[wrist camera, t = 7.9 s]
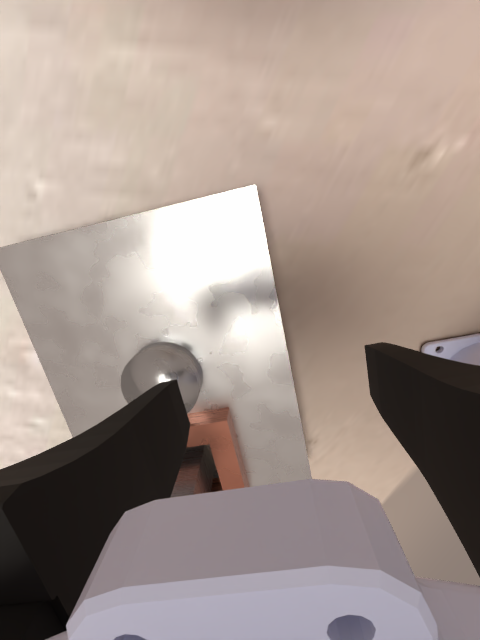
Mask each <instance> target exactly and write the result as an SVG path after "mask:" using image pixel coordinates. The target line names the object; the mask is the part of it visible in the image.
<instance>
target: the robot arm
mask: <svg viewBox="0 0 480 640" xmlns="http://www.w3.org/2000/svg"><path fill="white" fill-rule="evenodd" d="M438 346H440V349H439V350H438V351H435V350H436V348H437V347H438ZM365 353H366V361H367V370H368V379H369V387H370V395H371V397H372V399H373V401H374V403H375V405H376V407H377V409H378V411H379V413H380V414H381V416H382V418H383V419H384V421H385V422H386V424H387V425H388V426H389V428H390V429H391V431H392V432H393V434H394V435H395V436H396V438H397V439H398V440H399V442H400V443H401V445H402V446H403V447H404V449H405V450H406V452H407V453H408V454H409V456H410V457H411V458H412V460H413V461H414V463H415V464H416V465H417V467H418V468H419V470H420V471H421V473H422V474H423V476H424V477H425V479H426V480H427V482H428V484H429V485H430V487H431V489H432V491H433V492H434V494H435V496H436V497H437V499H438V501H439V503H440V504H441V506H442V508H443V510H444V512H445V513H446V515H447V517H448V519H449V521H450V522H451V524H452V526H453V528H454V530H455V531H456V533H457V535H458V537H459V539H460V540H461V543H462V544H463V546H464V548H465V550H466V552H467V554H468V556H469V558H470V559H471V561H472V563H473V565H474V567H475V569H476V571H477V573H478V575H479V577H480V333H479V334H473V335H468V336H462V337H456V338H451V339H445V340H439V341H434V342H428V343H426V344H424V345H423V347H422V349H421V352H418V351H415V350H411V349H408V348H404V347H401V346H397V345H393V344H389V343H383V342H381V343H376V344H370V345H365ZM189 430H190V422H189V418H188V415H187V412H186V408H185V405H184V402H183V399H182V395H181V392H180V389H179V385H178V382H177V379H176V380H171V381H165V382H161V383H159V384H157V385H155V386H154V387H152V388H150V389H149V390H147V391H146V392H144V393H143V394H142V395H140V396H139V397H137V398H136V399H134V400H133V401H132V402H130V403H129V404H127V405H126V406H124V407H123V408H121V409H120V410H118V411H117V412H115V413H114V414H112V415H111V416H109V417H108V418H106V419H105V420H103V421H102V422H100V423H98V424H97V425H95V426H93V427H92V428H90V429H88V430H86V431H84V432H83V433H81V434H79V435H77V436H75V437H74V438H72V439H70V440H68V441H66V442H63V443H61V444H59V445H57V446H55V447H53V448H51V449H49V450H47V451H44V452H42V453H40V454H38V455H36V456H33V457H31V458H29V459H26V460H24V461H21V462H19V463H16V464H14V465H11V466H8V467H6V468H3V469H1V470H0V640H480V586H477V585H470V584H463V583H456V582H450V581H444V580H437V579H430V578H424V577H417V576H414V574H413V571H412V569H411V567H410V565H409V563H408V561H407V559H406V556H405V554H404V552H403V550H402V547H401V546H400V543H399V541H398V539H397V537H396V535H395V532H394V530H393V528H392V526H391V524H390V522H389V520H388V518H387V516H386V514H385V512H384V510H383V508H382V506H381V503H380V501H379V500H378V499H377V498H375V497H373V496H371V495H370V494H368V493H366V492H365V491H363V490H361V489H359V488H358V487H356V486H354V485H353V484H351V483H349V482H344V481H331V480H317V479H305V480H297V481H290V482H283V483H275V484H268V485H261V486H253V487H246V488H239V489H231V490H224V491H217V492H209V493H202V494H195V495H187V496H180V497H173V498H170V497H171V494H172V491H173V488H174V485H175V482H176V479H177V476H178V473H179V470H180V467H181V463H182V460H183V457H184V454H185V451H186V447H187V442H188V436H189Z"/></svg>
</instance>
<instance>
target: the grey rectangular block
mask: <svg viewBox="0 0 480 640" xmlns="http://www.w3.org/2000/svg"><path fill="white" fill-rule="evenodd" d="M214 471H215V462H214V458H213V455H212V451H211V448H210V444H208V445H201V446H195V447H188V448H186V451H185V454H184V457H183V460H182V463H181V467H180V470H179V473H178V476H177V479H176V482H175V485H174V488H173V491H172V494H171V497H170V498H173V497H180V496H187V495H195V494H202V493H209V492H211V488H212V482H213V476H214Z"/></svg>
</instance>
